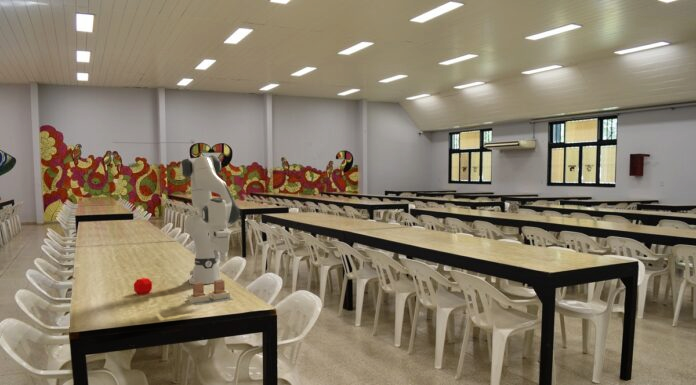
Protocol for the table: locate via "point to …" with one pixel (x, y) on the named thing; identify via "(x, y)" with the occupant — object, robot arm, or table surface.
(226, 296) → the board
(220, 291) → the terracotta pin
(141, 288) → the ball
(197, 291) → the pin
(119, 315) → the table surface
